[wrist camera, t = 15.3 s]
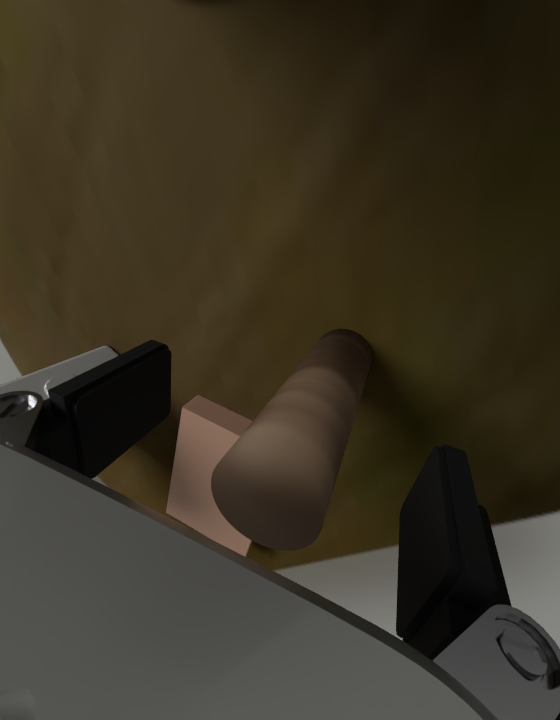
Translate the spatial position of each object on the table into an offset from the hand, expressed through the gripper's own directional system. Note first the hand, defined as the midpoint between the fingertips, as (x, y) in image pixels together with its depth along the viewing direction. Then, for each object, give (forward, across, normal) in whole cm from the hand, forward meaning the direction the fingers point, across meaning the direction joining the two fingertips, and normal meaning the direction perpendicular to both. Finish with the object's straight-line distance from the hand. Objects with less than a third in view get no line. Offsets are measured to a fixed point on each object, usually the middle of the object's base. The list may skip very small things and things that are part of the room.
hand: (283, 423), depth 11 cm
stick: (+10, -1, +1) cm, 10 cm away
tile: (+8, +5, +8) cm, 13 cm away
